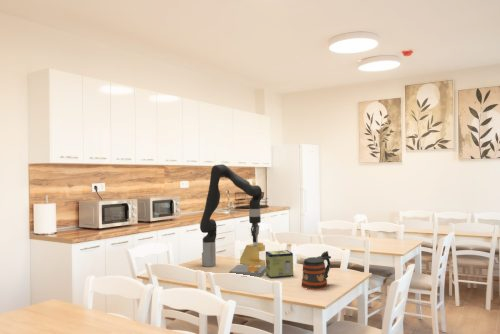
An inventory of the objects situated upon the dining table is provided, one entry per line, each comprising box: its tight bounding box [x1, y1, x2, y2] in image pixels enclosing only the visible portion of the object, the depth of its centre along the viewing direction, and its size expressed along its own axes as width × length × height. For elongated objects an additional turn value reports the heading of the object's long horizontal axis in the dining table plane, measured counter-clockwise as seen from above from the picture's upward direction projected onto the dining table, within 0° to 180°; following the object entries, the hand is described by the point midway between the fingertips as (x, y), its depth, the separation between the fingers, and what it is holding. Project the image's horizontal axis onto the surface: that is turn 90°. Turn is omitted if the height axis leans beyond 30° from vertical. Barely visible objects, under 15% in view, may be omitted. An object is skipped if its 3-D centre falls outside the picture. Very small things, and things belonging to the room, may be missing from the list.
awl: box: [252, 231, 259, 247], centre depth 280 cm, size 3×3×10 cm
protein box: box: [265, 249, 294, 279], centre depth 271 cm, size 10×16×16 cm
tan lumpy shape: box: [239, 242, 266, 266], centre depth 306 cm, size 20×9×16 cm, turn 41°
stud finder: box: [248, 265, 259, 272], centre depth 273 cm, size 6×4×3 cm, turn 75°
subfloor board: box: [228, 264, 266, 278], centre depth 280 cm, size 21×19×3 cm
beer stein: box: [301, 251, 332, 290], centre depth 244 cm, size 19×15×20 cm
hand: (255, 241), depth 280 cm, fingers closed on awl, 3 cm apart
